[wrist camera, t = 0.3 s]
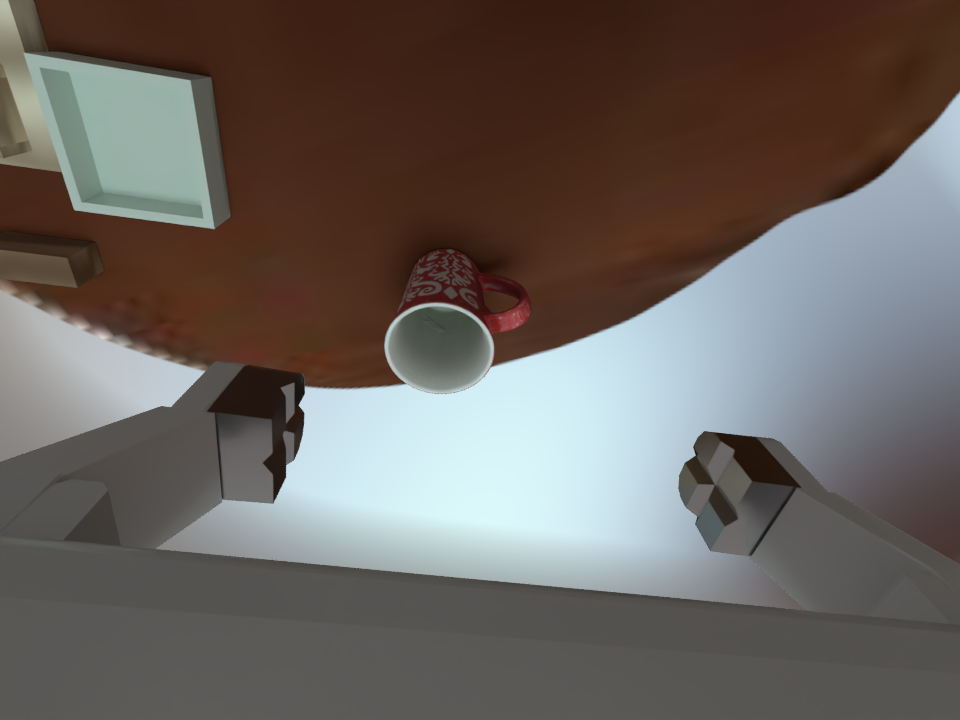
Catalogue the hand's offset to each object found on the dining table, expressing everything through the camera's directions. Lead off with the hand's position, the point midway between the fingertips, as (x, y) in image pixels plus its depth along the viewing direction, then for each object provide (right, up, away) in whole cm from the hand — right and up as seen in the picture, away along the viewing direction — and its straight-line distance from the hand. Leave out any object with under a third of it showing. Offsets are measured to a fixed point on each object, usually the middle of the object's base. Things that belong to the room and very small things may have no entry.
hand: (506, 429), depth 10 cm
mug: (-2, +10, +40) cm, 41 cm away
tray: (-29, +21, +32) cm, 48 cm away
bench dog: (-42, +12, +37) cm, 58 cm away
